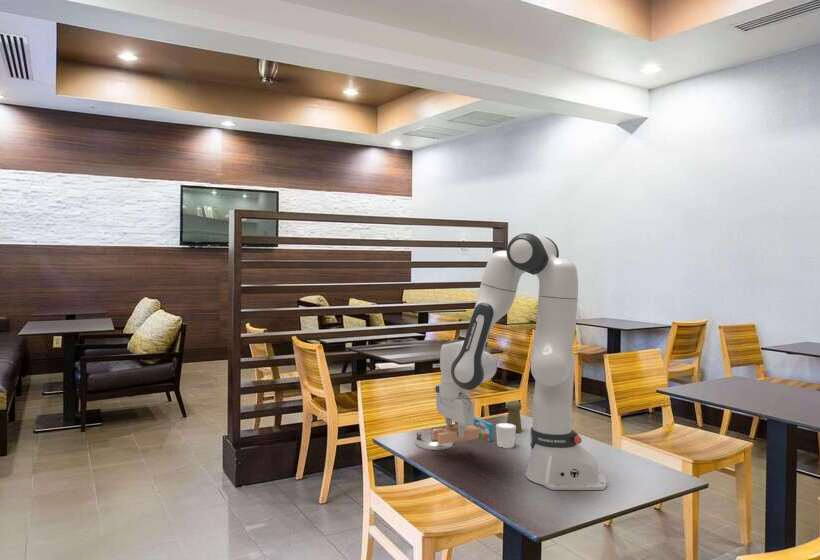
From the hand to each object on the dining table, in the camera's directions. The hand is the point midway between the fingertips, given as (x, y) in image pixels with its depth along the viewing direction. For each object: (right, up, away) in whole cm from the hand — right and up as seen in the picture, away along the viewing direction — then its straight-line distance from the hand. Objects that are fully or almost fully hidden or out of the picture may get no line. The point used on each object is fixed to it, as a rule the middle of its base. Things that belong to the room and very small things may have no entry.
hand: (455, 433), depth 179 cm
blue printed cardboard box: (+11, -8, +22) cm, 26 cm away
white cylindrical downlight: (+18, -8, +12) cm, 23 cm away
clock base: (-6, -7, +13) cm, 16 cm away
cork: (+24, -8, +30) cm, 39 cm away
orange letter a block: (0, -2, 0) cm, 2 cm away
